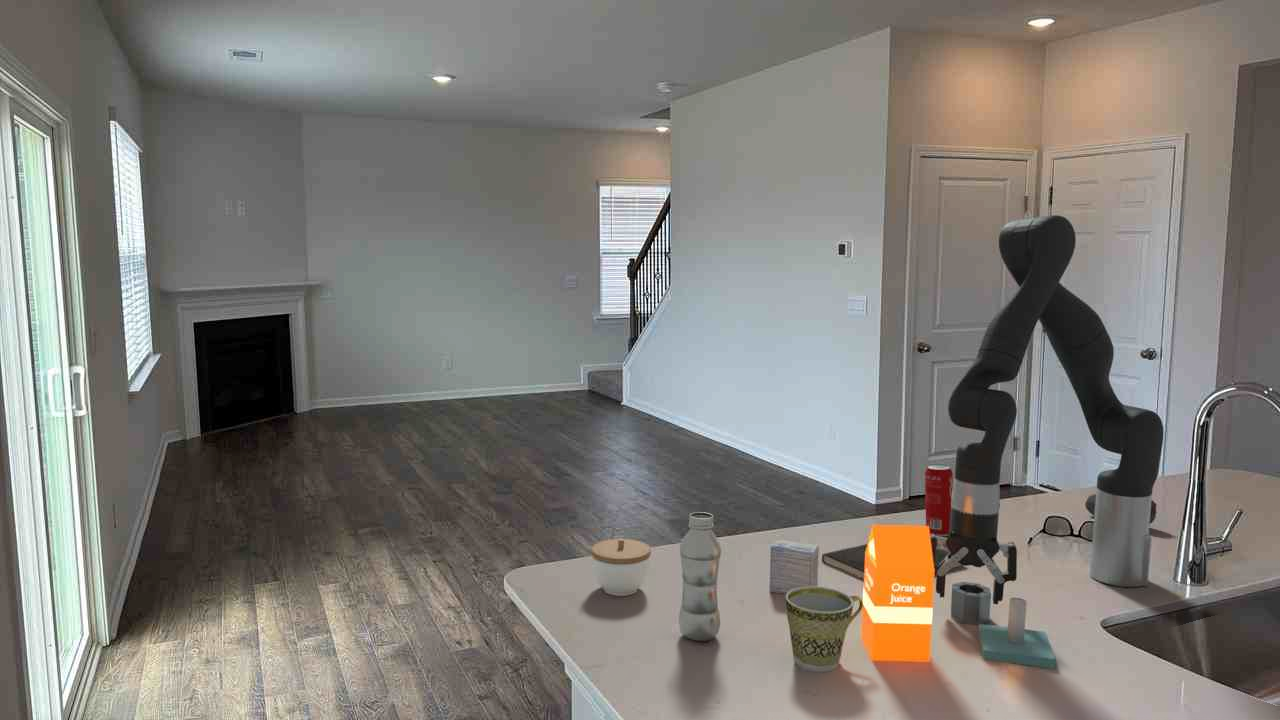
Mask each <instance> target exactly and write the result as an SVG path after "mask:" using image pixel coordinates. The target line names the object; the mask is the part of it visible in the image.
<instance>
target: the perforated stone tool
mask: <svg viewBox="0 0 1280 720" xmlns="http://www.w3.org/2000/svg"><path fill="white" fill-rule="evenodd" d="M1095 502H1096V493H1094V494H1090V495H1089V496H1088V497H1087V499H1086V501H1085V503H1084V505H1085V509H1086V510H1087V512H1088V513H1090V515H1093V516H1094V515H1095ZM1157 513H1158V512H1157V503H1156V502H1155V501H1154V500H1152V499H1151V511H1150V522H1149V525H1151V524H1152V523H1153V522H1154V520H1155V519H1156V517H1157V516H1156V515H1157Z"/></svg>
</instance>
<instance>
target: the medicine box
mask: <svg viewBox="0 0 1280 720" xmlns="http://www.w3.org/2000/svg"><path fill="white" fill-rule="evenodd" d="M819 548H820V547H819V546H818V545H816V544H810V543H809V544H808V543H802V542H797V541H789V540H781V539H777V540H776V541H775V542H774V543H773V544H772V545H771V546H770V556H769V557H770V559H769V566H770V567H769V592H772V593H778V594H784V595H786V594H787V593H788V592H789V591H791V590H793V589H795V588H800V587H809V586H816V587H819V586H818V584H819V583H818V581H819V579H818V577H819V575H818V574H819V553H820V552H819V550H820V549H819Z"/></svg>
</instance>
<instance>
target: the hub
mask: <svg viewBox="0 0 1280 720" xmlns="http://www.w3.org/2000/svg"><path fill="white" fill-rule="evenodd" d="M991 598H992V592H991V588H990V587H987V586H985V585H983V584H980V583H978V582H967V581H961V582H956V583H952V584H951V598H950V599H951V602H950V617H951V619H953V620H955V621H957V622H959V623H961V624H967V625H973V626H975V625H976V626H979V624H989V623H990V617H991V615H990V614H991V613H990V612H991V601H992V600H991Z"/></svg>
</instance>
